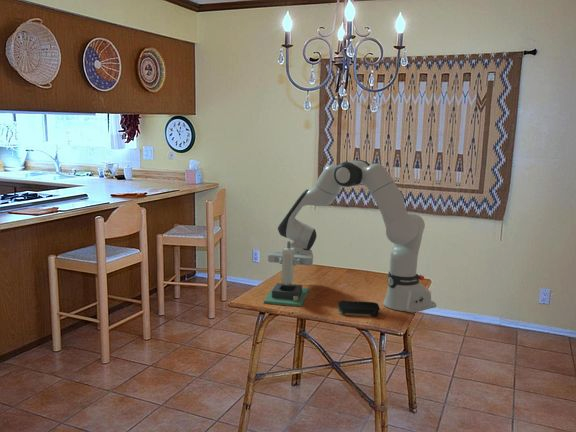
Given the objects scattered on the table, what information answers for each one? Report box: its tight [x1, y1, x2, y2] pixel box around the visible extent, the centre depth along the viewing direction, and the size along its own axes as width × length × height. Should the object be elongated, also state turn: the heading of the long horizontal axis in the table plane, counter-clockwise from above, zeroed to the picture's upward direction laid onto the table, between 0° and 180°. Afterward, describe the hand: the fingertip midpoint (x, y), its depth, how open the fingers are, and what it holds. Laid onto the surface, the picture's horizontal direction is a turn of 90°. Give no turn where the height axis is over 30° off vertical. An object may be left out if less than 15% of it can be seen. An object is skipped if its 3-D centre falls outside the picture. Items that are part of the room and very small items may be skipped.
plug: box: [281, 240, 295, 285], centre depth 226 cm, size 5×4×18 cm
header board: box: [263, 282, 310, 307], centre depth 229 cm, size 22×16×4 cm
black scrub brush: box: [337, 300, 381, 318], centre depth 212 cm, size 16×8×4 cm, turn 85°
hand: (287, 262), depth 226 cm, fingers closed on plug, 4 cm apart
